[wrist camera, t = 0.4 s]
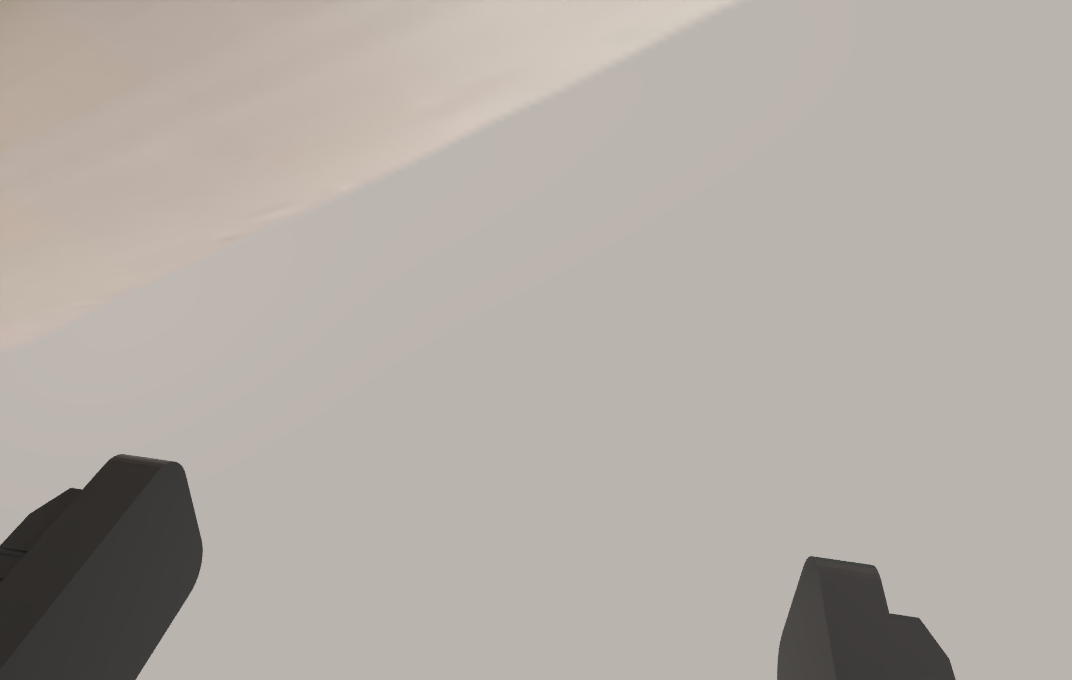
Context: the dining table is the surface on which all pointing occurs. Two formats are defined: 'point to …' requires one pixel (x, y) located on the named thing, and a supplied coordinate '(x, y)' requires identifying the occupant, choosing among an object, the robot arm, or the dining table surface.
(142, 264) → the dining table surface
